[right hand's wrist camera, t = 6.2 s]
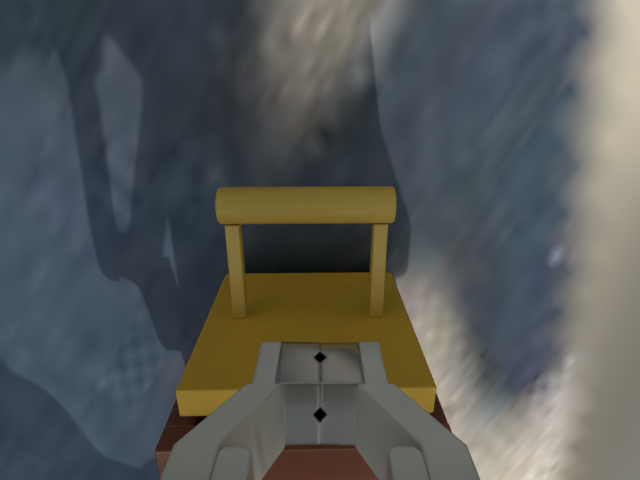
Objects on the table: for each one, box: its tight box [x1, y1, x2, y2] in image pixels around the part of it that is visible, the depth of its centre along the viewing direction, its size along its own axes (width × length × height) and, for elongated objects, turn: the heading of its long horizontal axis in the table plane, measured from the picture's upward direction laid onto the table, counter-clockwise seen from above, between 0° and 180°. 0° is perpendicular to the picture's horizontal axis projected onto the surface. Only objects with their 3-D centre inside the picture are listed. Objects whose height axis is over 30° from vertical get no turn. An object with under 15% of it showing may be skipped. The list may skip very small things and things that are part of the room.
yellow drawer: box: [176, 186, 436, 416], centre depth 21 cm, size 26×9×9 cm, turn 0°
